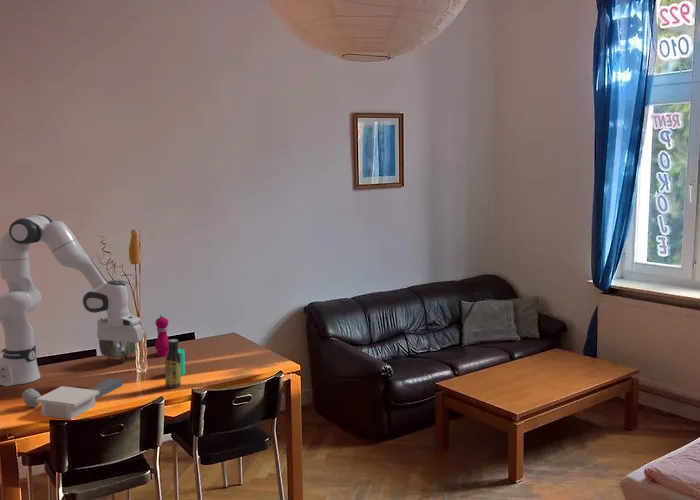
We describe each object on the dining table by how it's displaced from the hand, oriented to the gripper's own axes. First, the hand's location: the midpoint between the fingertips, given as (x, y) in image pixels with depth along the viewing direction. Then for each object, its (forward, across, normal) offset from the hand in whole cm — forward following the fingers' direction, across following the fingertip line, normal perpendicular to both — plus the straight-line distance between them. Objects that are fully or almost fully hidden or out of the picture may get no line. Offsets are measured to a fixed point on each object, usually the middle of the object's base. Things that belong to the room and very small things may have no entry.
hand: (120, 350), depth 282 cm
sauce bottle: (+14, +23, +2) cm, 27 cm away
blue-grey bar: (+14, -1, -13) cm, 19 cm away
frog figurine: (+13, -16, -34) cm, 40 cm away
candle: (+14, +17, +16) cm, 27 cm away
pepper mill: (+14, -4, +38) cm, 41 cm away
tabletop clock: (+14, -17, +22) cm, 31 cm away
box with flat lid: (+14, -1, -32) cm, 35 cm away
